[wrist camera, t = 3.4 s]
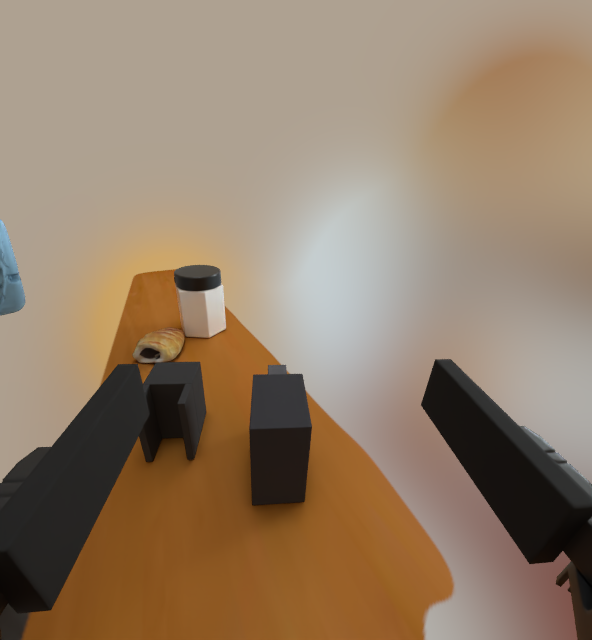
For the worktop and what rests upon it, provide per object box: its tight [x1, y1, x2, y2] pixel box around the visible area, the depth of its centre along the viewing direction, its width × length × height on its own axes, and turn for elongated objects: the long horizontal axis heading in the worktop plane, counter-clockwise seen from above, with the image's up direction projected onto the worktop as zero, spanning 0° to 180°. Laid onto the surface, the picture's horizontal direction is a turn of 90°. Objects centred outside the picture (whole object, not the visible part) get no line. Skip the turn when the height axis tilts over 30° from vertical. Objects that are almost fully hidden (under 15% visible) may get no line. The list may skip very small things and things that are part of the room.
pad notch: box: [139, 362, 206, 462], centre depth 32 cm, size 7×5×8 cm
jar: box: [174, 265, 226, 338], centre depth 55 cm, size 9×8×12 cm
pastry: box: [133, 327, 184, 363], centre depth 49 cm, size 9×7×4 cm
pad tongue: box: [249, 365, 312, 505], centre depth 29 cm, size 10×5×10 cm, turn 5°
